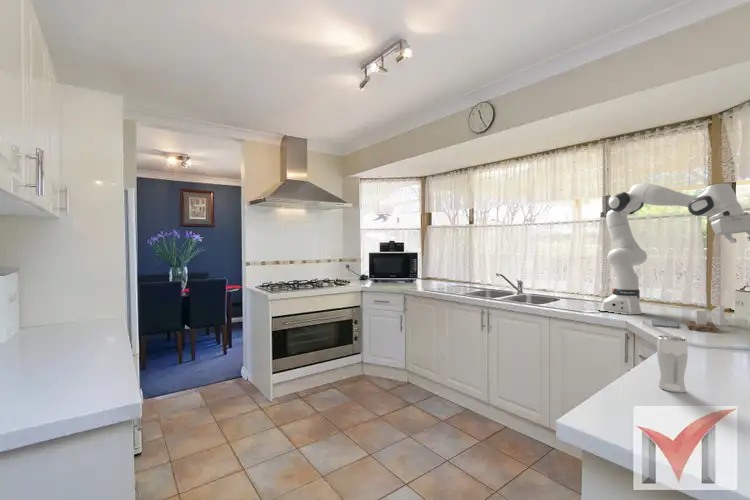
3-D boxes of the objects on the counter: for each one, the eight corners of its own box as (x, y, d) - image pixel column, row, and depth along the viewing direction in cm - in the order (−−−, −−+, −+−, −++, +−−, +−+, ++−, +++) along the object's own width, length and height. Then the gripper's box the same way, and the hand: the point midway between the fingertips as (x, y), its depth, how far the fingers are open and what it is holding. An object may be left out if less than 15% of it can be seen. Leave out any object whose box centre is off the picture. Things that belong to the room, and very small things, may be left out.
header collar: (689, 329, 174) (689, 325, 174) (685, 324, 185) (685, 320, 185) (717, 332, 168) (717, 328, 168) (712, 326, 179) (712, 322, 179)
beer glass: (651, 384, 109) (650, 335, 109) (672, 383, 109) (672, 334, 109) (671, 394, 102) (671, 341, 102) (694, 393, 102) (694, 340, 102)
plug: (696, 328, 175) (696, 310, 175) (695, 326, 180) (695, 308, 179) (706, 329, 173) (706, 311, 173) (704, 327, 177) (704, 309, 177)
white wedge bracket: (726, 322, 177) (719, 305, 182) (713, 328, 186) (707, 312, 190) (735, 322, 177) (728, 305, 181) (722, 328, 185) (715, 312, 189)
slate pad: (652, 325, 183) (652, 324, 183) (651, 321, 192) (651, 320, 192) (678, 328, 177) (678, 326, 177) (675, 323, 187) (675, 322, 187)
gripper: (743, 214, 175) (755, 241, 171) (705, 218, 173) (716, 246, 169) (757, 209, 169) (770, 236, 165) (717, 213, 167) (730, 241, 163)
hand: (742, 241), depth 167 cm, fingers open, 8 cm apart
